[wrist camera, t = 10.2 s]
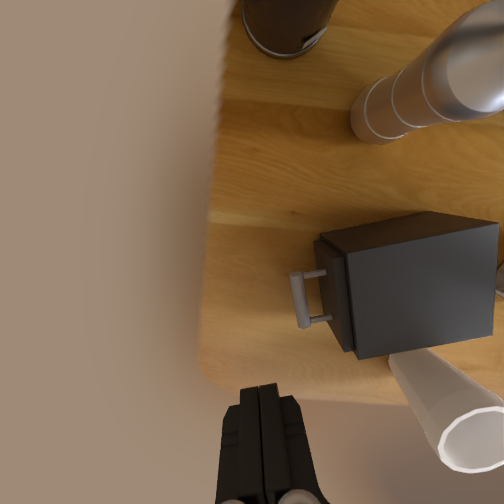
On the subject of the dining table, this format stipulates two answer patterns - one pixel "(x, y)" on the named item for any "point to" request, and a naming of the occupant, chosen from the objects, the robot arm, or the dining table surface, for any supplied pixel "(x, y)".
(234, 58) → the dining table surface
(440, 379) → the foam cup
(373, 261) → the dark grey cabinet
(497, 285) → the coffee box
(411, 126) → the silver metal bottle
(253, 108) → the dining table surface
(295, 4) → the robot arm
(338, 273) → the drawer
